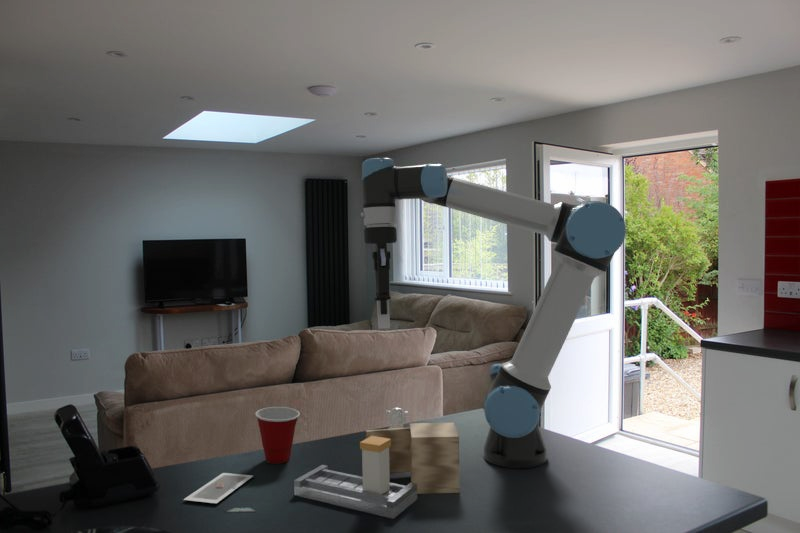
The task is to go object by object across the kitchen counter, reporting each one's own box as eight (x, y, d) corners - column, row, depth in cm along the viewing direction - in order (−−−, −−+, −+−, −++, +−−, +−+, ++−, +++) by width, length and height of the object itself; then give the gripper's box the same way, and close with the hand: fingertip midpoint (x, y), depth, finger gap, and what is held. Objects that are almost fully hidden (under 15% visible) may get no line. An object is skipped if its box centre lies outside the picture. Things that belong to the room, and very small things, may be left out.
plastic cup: (291, 469, 141) (290, 418, 140) (248, 466, 143) (247, 416, 143) (307, 453, 152) (306, 406, 151) (267, 451, 154) (266, 404, 153)
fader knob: (360, 492, 121) (359, 442, 121) (372, 484, 125) (371, 435, 125) (380, 497, 119) (379, 445, 119) (391, 488, 123) (390, 438, 123)
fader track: (294, 495, 126) (294, 480, 126) (322, 478, 135) (322, 464, 135) (393, 518, 115) (393, 502, 114) (417, 499, 123) (417, 483, 123)
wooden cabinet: (454, 474, 137) (453, 422, 136) (459, 492, 126) (459, 436, 126) (367, 475, 136) (366, 423, 136) (365, 494, 126) (364, 438, 125)
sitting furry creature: (381, 464, 144) (380, 414, 143) (374, 452, 152) (373, 405, 152) (419, 460, 146) (418, 411, 145) (410, 448, 154) (409, 402, 154)
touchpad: (183, 504, 123) (182, 494, 123) (223, 477, 138) (222, 468, 138) (216, 508, 121) (216, 498, 121) (253, 480, 136) (253, 470, 136)
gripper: (362, 228, 144) (366, 325, 145) (365, 225, 131) (369, 332, 132) (393, 227, 145) (397, 323, 146) (399, 224, 132) (403, 330, 133)
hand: (384, 328), depth 139 cm, fingers closed
